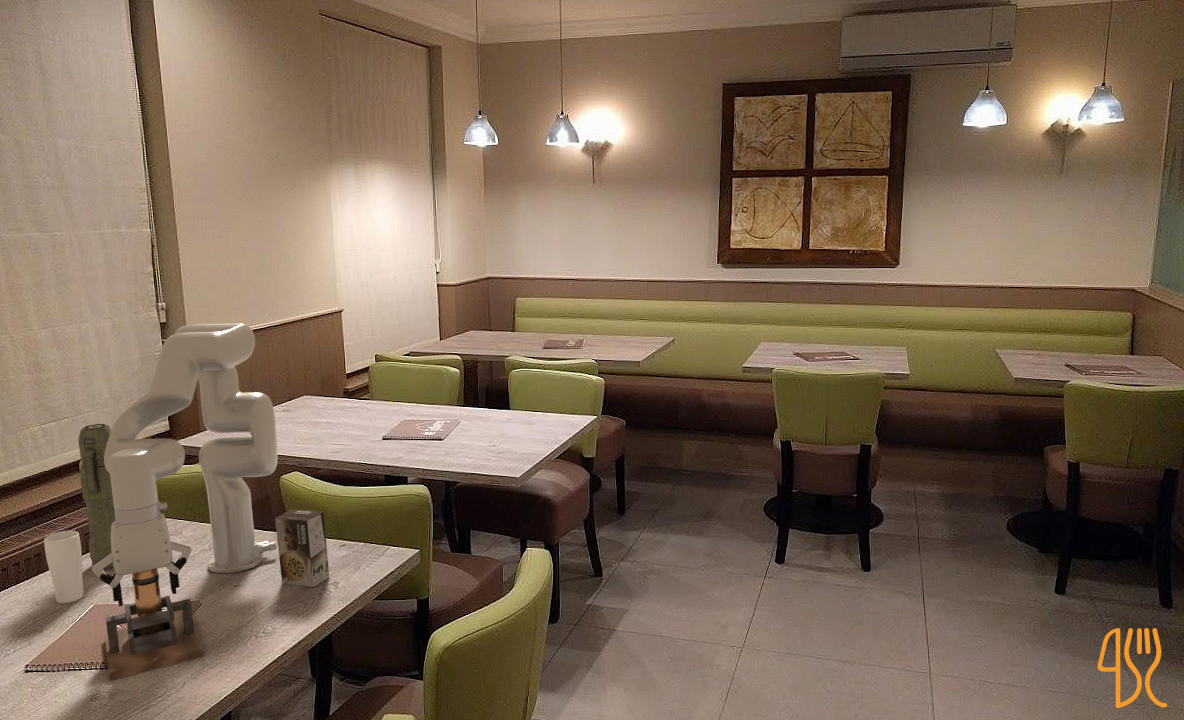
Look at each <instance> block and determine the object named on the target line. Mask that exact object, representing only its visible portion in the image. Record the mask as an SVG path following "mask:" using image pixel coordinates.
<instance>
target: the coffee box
mask: <svg viewBox="0 0 1184 720" xmlns="http://www.w3.org/2000/svg"><path fill="white" fill-rule="evenodd" d="M274 520H275V529H276V539H277V547H278V557H279V568H280V577H281V584H285V585H293V586H300V587H308V588H309V587H310V588H314V587H315V588H316V587H317V586H318V585H320V584H321V583H322V582H324V581H326V580H327V579H329V578H330V572H329V558H328V548H327V547H328V546H327V538H326V537H327V535H326V526H325V525H326V523H325V512H324V511H321V510H320V511H319V510H308V509H297V508H296V509H295V508H291V509H289V510H287V511H286V512H283V513H282V514H280V515H278V516H276V517H275V518H274Z"/></svg>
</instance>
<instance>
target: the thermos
mask: <svg viewBox="0 0 1184 720" xmlns="http://www.w3.org/2000/svg"><path fill="white" fill-rule="evenodd" d="M111 430H112V427H110V425H108V424H105V423H96V424H95V423H94V424H88V425H86V426H83V428H81V429H80V431H79V436H78V448H79V456H80V460H81V462H82V463H81V472H80V473H81V474H80V476H79V479H80V486H81V487H80V488H81V492H82V500H83V502H85V505H86V506H85V507H86V515H87V522H88V529H89V541H88V550H89V558H90V560H91V563H92V564H91V566H92V567H93V566H94V565H95V564H97V563H98V562H99V561H101V560H102V559H104V558H105V557H106V556H108V555H109V554H111V553H112V550H111V526H112V523H113V522H114V521H116V518H115V510H114V502H113V494H112V486H111V478H110V473H109V472H108V471H107V470H106V468H105V464H104V455H105V449H106V445H107V442H108V439H109V436H110V433H111ZM92 567H91V568H92ZM103 570H104V572H106V571H110V570H111V571H112V570H114V566H113V562H112V563H110V564H109V565H107V566H106V567H105V568H103Z"/></svg>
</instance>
